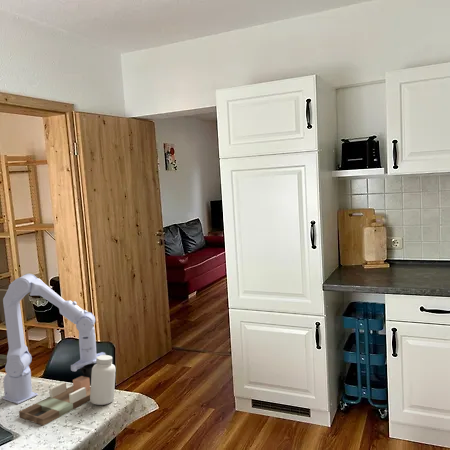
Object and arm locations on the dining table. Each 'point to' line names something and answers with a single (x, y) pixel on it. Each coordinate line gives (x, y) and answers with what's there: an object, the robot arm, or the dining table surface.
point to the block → (81, 383)
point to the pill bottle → (102, 381)
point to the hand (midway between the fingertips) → (90, 383)
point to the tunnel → (73, 396)
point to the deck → (52, 407)
